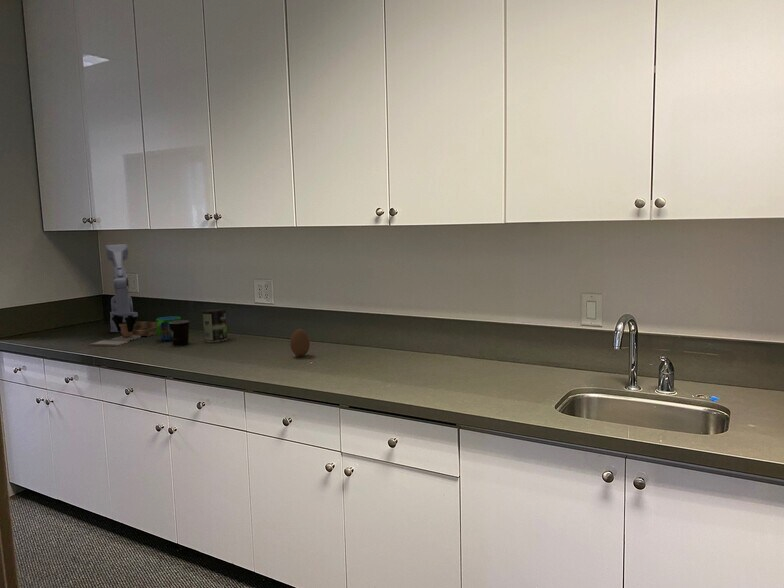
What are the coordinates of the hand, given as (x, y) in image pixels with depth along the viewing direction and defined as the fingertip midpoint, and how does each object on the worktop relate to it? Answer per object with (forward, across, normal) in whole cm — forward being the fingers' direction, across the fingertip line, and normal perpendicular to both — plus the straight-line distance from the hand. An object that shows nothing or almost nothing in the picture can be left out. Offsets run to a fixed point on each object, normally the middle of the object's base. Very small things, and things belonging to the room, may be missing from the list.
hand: (125, 331), depth 288 cm
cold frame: (+4, -1, +12) cm, 13 cm away
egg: (+4, +99, -13) cm, 100 cm away
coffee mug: (+4, +35, -5) cm, 36 cm away
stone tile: (+4, 0, 0) cm, 4 cm away
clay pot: (+2, 0, +1) cm, 2 cm away
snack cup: (+4, +22, +4) cm, 23 cm away
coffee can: (+4, +45, +7) cm, 46 cm away
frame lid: (+4, 0, -10) cm, 11 cm away
